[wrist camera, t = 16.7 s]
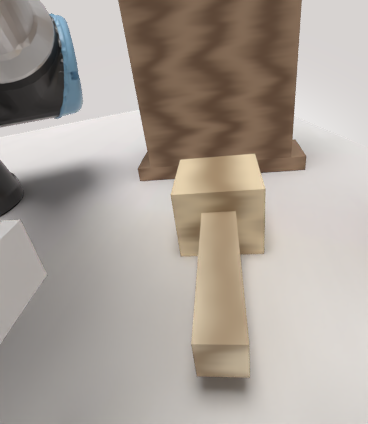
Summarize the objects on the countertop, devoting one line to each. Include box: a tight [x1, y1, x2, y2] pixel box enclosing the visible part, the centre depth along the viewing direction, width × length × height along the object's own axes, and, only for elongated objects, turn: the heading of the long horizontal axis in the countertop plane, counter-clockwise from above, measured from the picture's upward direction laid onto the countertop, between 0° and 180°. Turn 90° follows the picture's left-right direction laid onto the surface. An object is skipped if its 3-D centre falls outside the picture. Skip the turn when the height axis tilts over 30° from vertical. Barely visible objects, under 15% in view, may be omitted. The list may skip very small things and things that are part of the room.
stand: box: [118, 0, 306, 181], centre depth 39 cm, size 24×7×30 cm, turn 85°
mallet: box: [171, 154, 265, 378], centre depth 25 cm, size 8×21×7 cm, turn 175°
